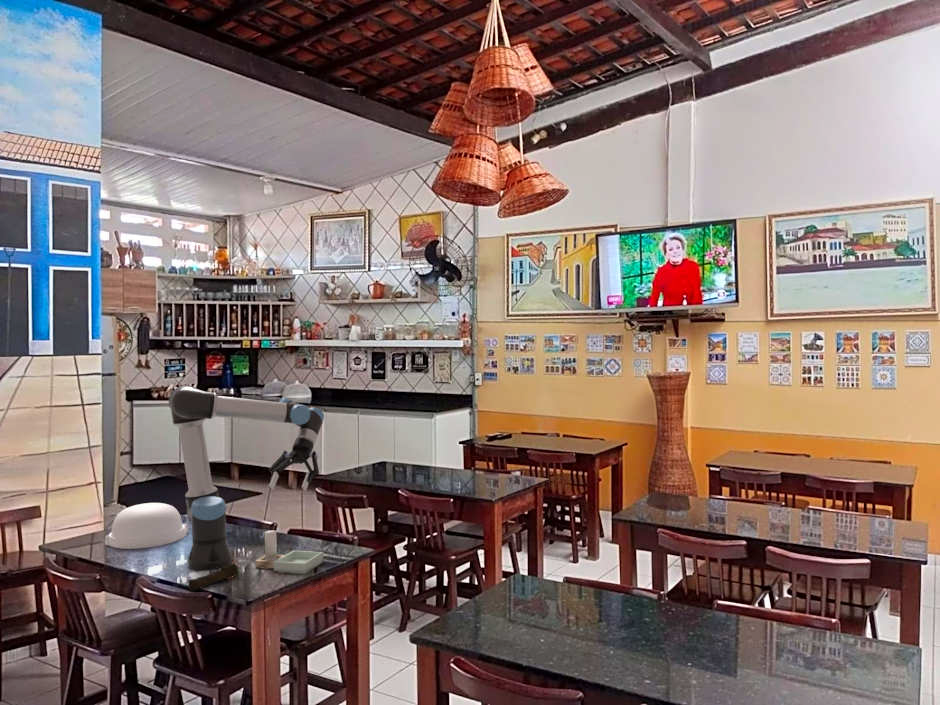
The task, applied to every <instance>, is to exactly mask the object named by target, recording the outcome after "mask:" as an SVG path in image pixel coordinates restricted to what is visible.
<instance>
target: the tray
mask: <svg viewBox="0 0 940 705" xmlns="http://www.w3.org/2000/svg"><path fill="white" fill-rule="evenodd" d="M284 555H285V556H283V557H281V558H279V559H278V560H276V561H274V569H273V572H274V571H278V572H277V573H285V572H290V574H299V575H300V574H302V575H303V574H304V575H305V574H308V573H309V572H310V571H312V570H313V569H315V568H317V567H318V566H319V565H321V564H323V563H324V551H310V550H309V551H308V550H291V551H290V552H288V553H286V554H284Z"/></svg>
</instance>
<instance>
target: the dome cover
mask: <svg viewBox="0 0 940 705" xmlns="http://www.w3.org/2000/svg"><path fill="white" fill-rule="evenodd" d="M187 533H189V528H188V523H183V521H182V517H181V515H180V512H179V511H178V510H177V508H176V507H174V506H173V505H171V504H167V503H164V502H163V503H162V502H147V503H145V502H144V503H140V504H135V505H132V506H131V505H130V506H128V507H127V508H124V509H123V510H121V511H120V512H118V513H117V515H116V516H115V517H114V520H113V523H112V526H111V532H109V533H108V534H106V535H105V539H104V541H105V542H104V543H105V544H104V545H105V546H109V547H112V548H116V549H123V550H125V549H126V550H127V549H128V550H129V549H130V550H131V549H132V550H133V549H145V548H153V547H159V546H163V545H169V544H172V543H174V542H178V541H180V540H182V539H184V538H185V537H186V536H187Z"/></svg>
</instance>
